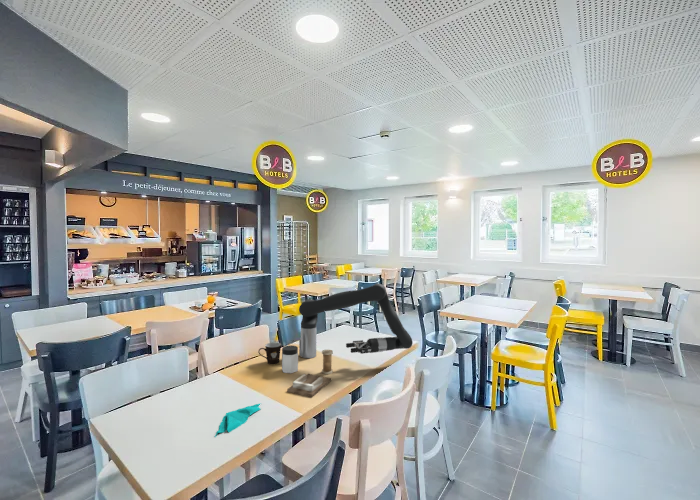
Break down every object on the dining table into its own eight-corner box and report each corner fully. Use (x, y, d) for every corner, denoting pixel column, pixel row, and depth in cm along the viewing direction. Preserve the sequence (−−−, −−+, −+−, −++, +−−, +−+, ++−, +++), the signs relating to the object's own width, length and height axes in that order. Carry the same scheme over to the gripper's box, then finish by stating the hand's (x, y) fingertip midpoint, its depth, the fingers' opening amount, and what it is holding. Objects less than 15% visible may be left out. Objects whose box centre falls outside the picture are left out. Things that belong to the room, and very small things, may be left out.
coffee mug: (282, 359, 193) (283, 342, 192) (278, 365, 184) (278, 347, 184) (263, 359, 194) (263, 341, 194) (257, 364, 185) (257, 346, 185)
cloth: (253, 401, 146) (253, 396, 146) (275, 410, 138) (275, 405, 138) (196, 429, 124) (196, 423, 124) (219, 442, 117) (219, 436, 116)
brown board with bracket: (287, 391, 154) (287, 383, 153) (308, 375, 171) (308, 368, 171) (312, 397, 149) (312, 388, 148) (331, 380, 166) (331, 373, 166)
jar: (281, 367, 181) (281, 345, 181) (296, 366, 184) (296, 344, 183) (282, 374, 173) (283, 351, 172) (298, 372, 175) (298, 349, 175)
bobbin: (319, 373, 175) (320, 352, 174) (324, 369, 180) (325, 348, 180) (329, 374, 173) (329, 353, 172) (334, 371, 178) (334, 350, 177)
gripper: (372, 334, 191) (344, 337, 186) (381, 342, 177) (352, 345, 172) (372, 347, 191) (344, 350, 186) (381, 356, 177) (352, 359, 172)
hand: (348, 348), depth 179 cm, fingers open, 8 cm apart
